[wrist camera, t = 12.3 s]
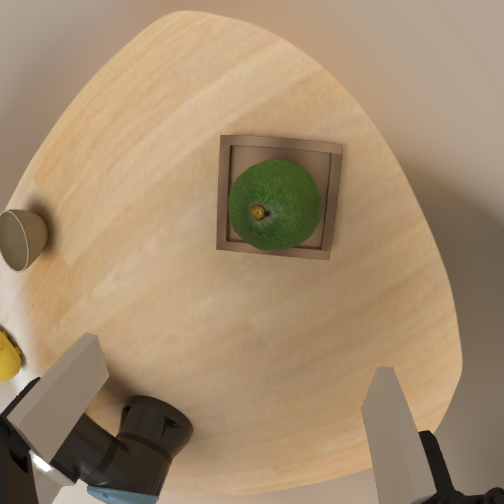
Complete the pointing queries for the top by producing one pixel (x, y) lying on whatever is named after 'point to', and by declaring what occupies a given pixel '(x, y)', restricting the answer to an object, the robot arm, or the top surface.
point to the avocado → (274, 205)
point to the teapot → (8, 358)
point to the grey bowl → (21, 238)
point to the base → (301, 154)
